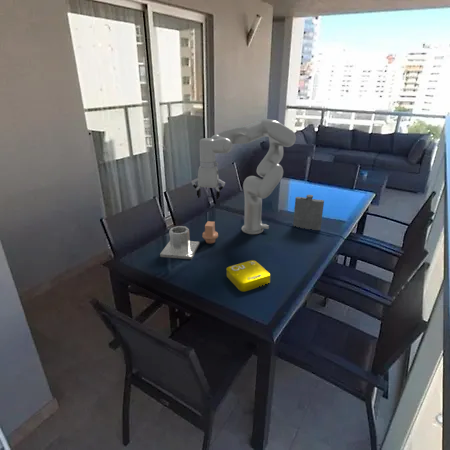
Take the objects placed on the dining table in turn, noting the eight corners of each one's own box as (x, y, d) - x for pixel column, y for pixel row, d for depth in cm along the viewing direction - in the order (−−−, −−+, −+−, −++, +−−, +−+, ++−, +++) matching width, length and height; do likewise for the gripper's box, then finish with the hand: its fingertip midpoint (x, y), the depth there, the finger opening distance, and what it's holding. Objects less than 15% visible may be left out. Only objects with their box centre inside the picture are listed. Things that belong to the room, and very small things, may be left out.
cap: (219, 238, 176) (219, 221, 171) (216, 245, 168) (216, 227, 164) (204, 237, 177) (204, 220, 173) (201, 244, 169) (200, 226, 165)
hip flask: (321, 228, 186) (325, 196, 178) (319, 231, 183) (323, 198, 174) (293, 224, 192) (296, 192, 184) (292, 226, 189) (294, 194, 181)
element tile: (241, 293, 131) (241, 283, 129) (224, 275, 143) (224, 266, 141) (271, 283, 137) (272, 274, 135) (253, 267, 149) (253, 258, 147)
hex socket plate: (199, 244, 170) (198, 224, 165) (191, 259, 155) (190, 238, 151) (170, 242, 172) (169, 222, 168) (160, 256, 158) (158, 236, 153)
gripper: (226, 163, 158) (226, 196, 164) (192, 162, 161) (194, 194, 168) (223, 167, 151) (223, 201, 158) (188, 165, 154) (190, 199, 161)
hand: (208, 197), depth 163 cm, fingers open, 9 cm apart
